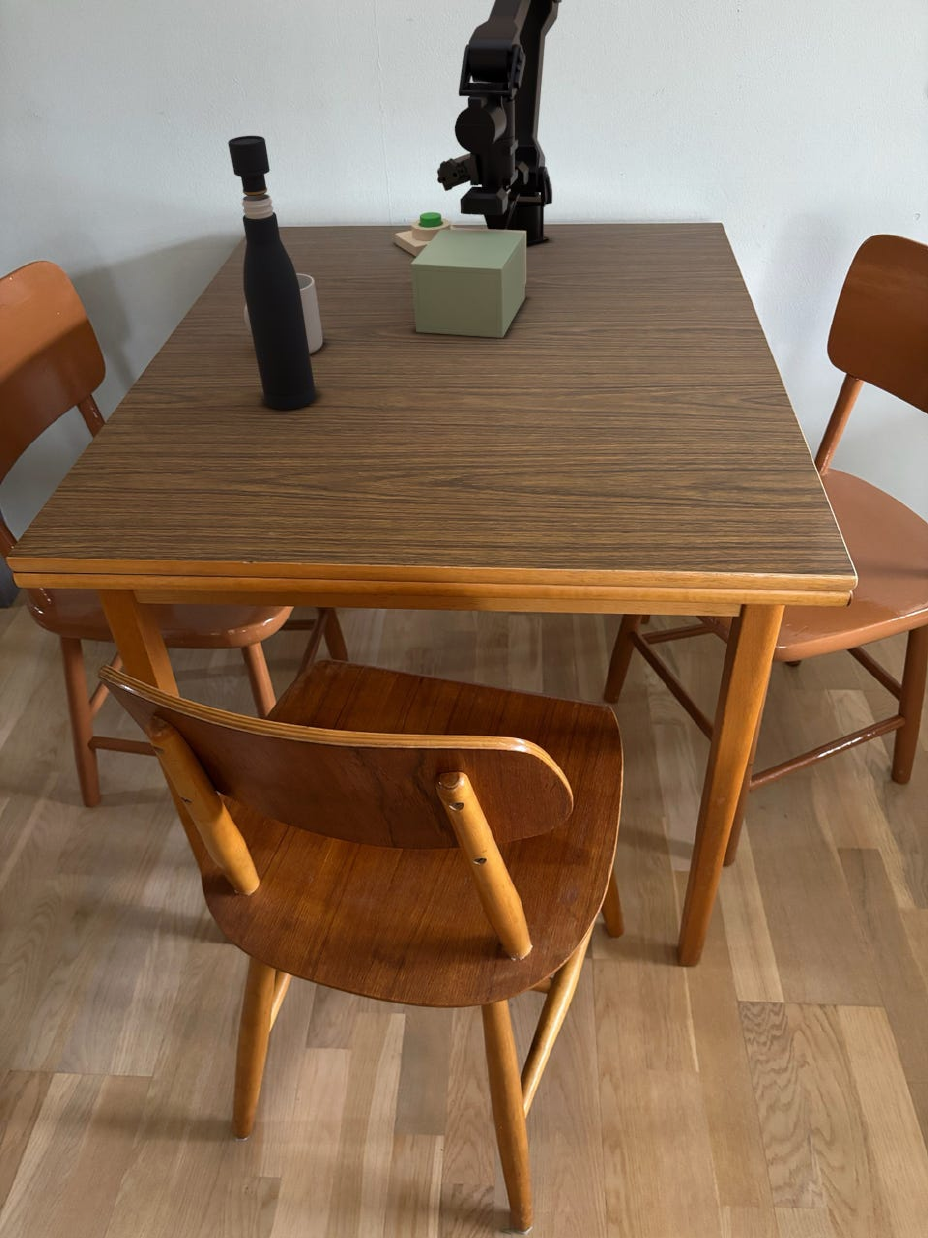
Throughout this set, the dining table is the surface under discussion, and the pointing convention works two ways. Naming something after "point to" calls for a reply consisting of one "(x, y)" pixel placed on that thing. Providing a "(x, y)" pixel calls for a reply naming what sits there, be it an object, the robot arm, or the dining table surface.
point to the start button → (430, 220)
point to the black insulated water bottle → (271, 287)
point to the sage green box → (469, 282)
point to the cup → (305, 312)
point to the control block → (419, 236)
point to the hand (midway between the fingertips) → (496, 245)
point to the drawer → (497, 231)
